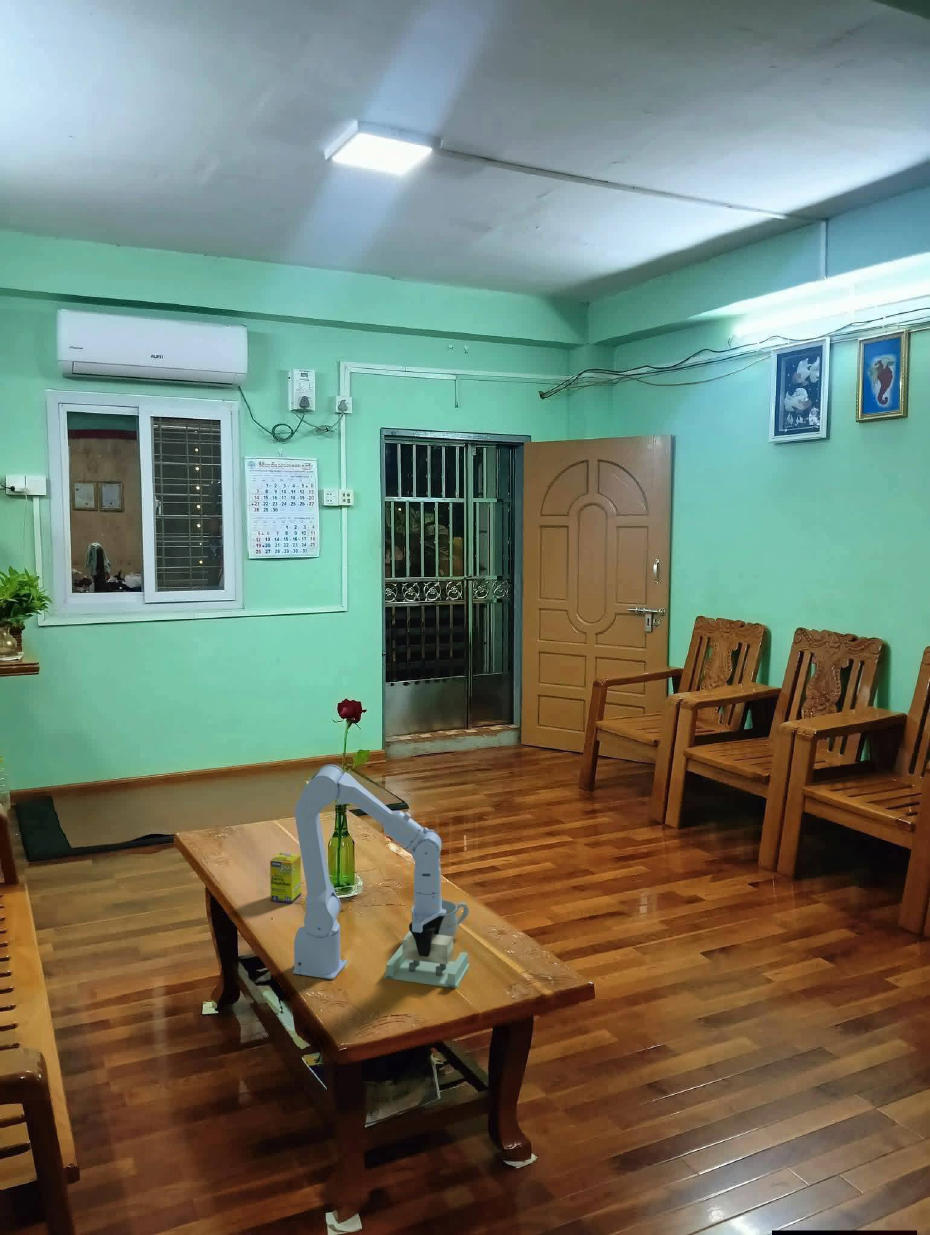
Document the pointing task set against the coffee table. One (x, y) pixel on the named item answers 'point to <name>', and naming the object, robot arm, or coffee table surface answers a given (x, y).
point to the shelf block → (438, 953)
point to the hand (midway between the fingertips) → (427, 950)
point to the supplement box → (285, 877)
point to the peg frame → (427, 970)
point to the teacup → (450, 917)
